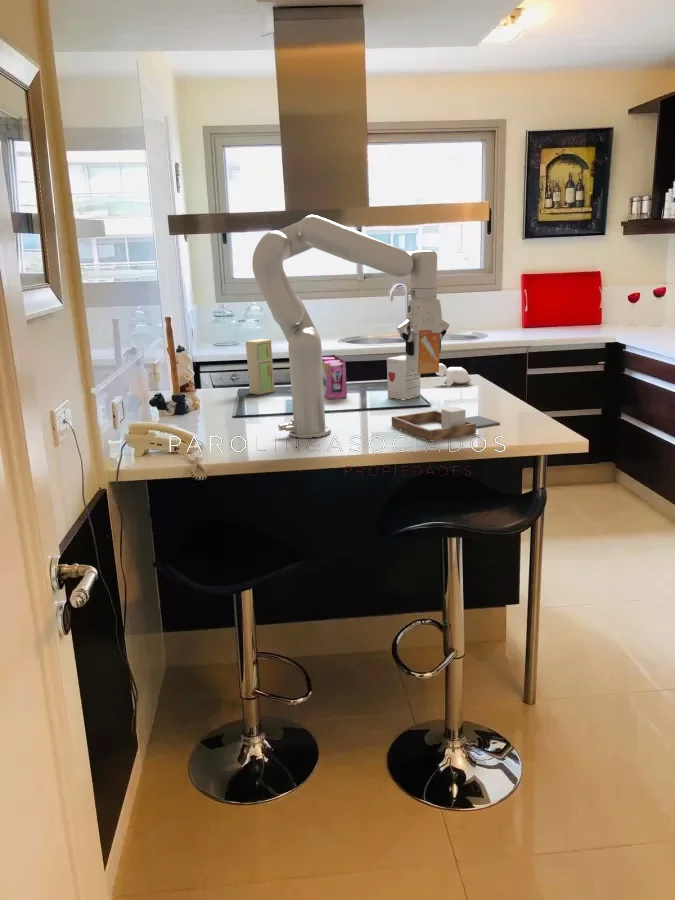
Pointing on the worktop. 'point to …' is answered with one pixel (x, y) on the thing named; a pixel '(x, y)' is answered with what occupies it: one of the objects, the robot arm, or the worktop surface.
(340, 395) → the gum box
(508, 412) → the worktop surface
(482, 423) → the slate mat
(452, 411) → the white block
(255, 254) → the robot arm
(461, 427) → the tray
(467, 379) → the white animal figurine
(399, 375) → the supplement box
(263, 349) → the toy refrigerator
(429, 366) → the small box
